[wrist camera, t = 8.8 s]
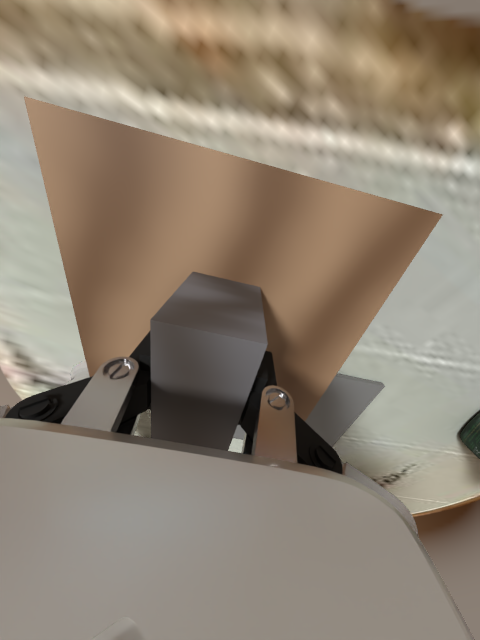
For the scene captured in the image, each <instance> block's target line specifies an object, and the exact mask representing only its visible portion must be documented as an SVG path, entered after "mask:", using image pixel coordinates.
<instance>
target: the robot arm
mask: <svg viewBox="0 0 480 640" xmlns="http://www.w3.org/2000/svg"><path fill="white" fill-rule="evenodd" d="M147 409H150V410H151V341H150V331H149V332H148V334H147V335H146V336H145V337H144V339H143V340H142V341H141V342H140V344H139V345H138V346H137V347H136V349H135V350H134V351H133V352H132V354H131V355H130V356H129V357H116V358H112V359H110V360H108V361H106V362H104V363H103V364H102V365H101V366H100V367H99V369H98V370H97V371H96V373H95V374H94V376H92V377H89V378H85V379H82V380H79V381H76V382H73V383H70V384H67V385H64V386H61V387H58V388H55V389H51V390H48V391H45V392H42V393H39V394H36V395H33V396H31V397H28V398H26V399H24V400H23V401H21V402H19V403H17V404H16V405H15V406H14V407H11V408H10V407H9V406H8V405H5V406H0V640H475V639H474V637H473V636H472V634H471V632H470V630H469V628H468V626H467V624H466V622H465V620H464V618H463V617H462V615H461V613H460V611H459V609H458V607H457V605H456V603H455V602H454V599H453V597H452V596H451V594H450V592H449V590H448V588H447V586H446V585H445V583H444V581H443V579H442V578H441V576H440V574H439V572H438V570H437V568H436V567H435V565H434V563H433V561H432V560H431V558H430V556H429V555H428V553H427V551H426V549H425V548H424V546H423V544H422V543H421V541H420V540H419V537H418V531H417V527H416V523H415V520H414V519H413V517H412V515H411V513H410V511H409V510H408V509H407V508H406V506H405V505H404V504H403V503H402V502H401V501H400V500H399V499H398V498H397V497H396V496H394V495H393V494H391V493H390V492H388V491H387V490H386V489H384V488H383V487H381V486H380V485H379V484H377V483H376V482H374V481H373V480H371V479H370V478H369V477H367V476H366V475H364V474H363V473H362V472H360V471H359V470H357V469H356V468H354V467H353V466H352V465H350V464H349V463H347V462H346V463H345V464H344V463H343V462H341V460H340V458H339V456H338V454H337V453H336V451H335V450H334V449H333V448H332V447H331V446H330V445H329V444H328V443H327V442H326V441H325V440H324V439H323V438H322V437H321V436H320V435H319V434H317V433H316V432H315V431H314V430H313V429H312V428H311V427H310V426H309V425H308V424H307V423H306V422H305V421H304V420H303V419H302V418H300V417H299V416H298V415H297V414H296V413H295V412H294V403H293V399H292V397H291V395H290V394H289V393H288V392H287V391H286V390H284V389H283V388H281V387H279V386H277V381H276V375H275V368H274V362H273V356H272V352H270V351H265V353H264V356H263V359H262V361H261V364H260V367H259V369H258V372H257V375H256V377H255V380H254V383H253V385H252V388H251V390H250V393H249V396H248V398H247V401H246V404H245V406H244V409H243V412H242V414H241V417H240V420H239V422H238V425H241V428H242V429H243V430H244V431H245V435H244V441H243V447H242V453H237V452H231V451H225V450H219V449H213V448H207V447H201V446H195V445H189V444H183V443H177V442H171V441H165V440H158V439H152V438H146V437H140V436H134V433H135V430H136V427H137V424H138V421H139V419H140V415H141V413H142V412H144V411H146V410H147Z"/></svg>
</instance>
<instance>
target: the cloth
mask: <svg viewBox="0 0 480 640" xmlns="http://www.w3.org/2000/svg"><path fill="white" fill-rule="evenodd" d="M24 99H25V103H26V108H27V112H28V116H29V120H30V125H31V129H32V133H33V137H34V142H35V146H36V150H37V154H38V159H39V163H40V167H41V172H42V176H43V180H44V184H45V189H46V193H47V197H48V201H49V206H50V210H51V214H52V218H53V223H54V227H55V231H56V236H57V240H58V244H59V248H60V253H61V257H62V261H63V265H64V270H65V274H66V278H67V282H68V287H69V291H70V295H71V300H72V304H73V308H74V312H75V317H76V321H77V325H78V329H79V334H80V338H81V342H82V346H83V351H84V355H85V359H86V364H87V368H88V372H89V376H90V377H92V376H94V374H95V373H96V371H97V370H98V369H99V367H100V366H101V365H102V364H103V363H104V362H106V361H108V360H110V359H112V358H116V357H129V356H130V355H131V354H132V352H133V351H134V350H135V349H136V347H137V346H138V345H139V344H140V342H141V341H142V340H143V339H144V337H145V336H146V335H147V334H148V332H149V331H150V341H151V438H152V439H158V440H165V441H171V442H177V443H183V444H189V445H195V446H201V447H207V448H213V449H219V450H225V451H228V449H229V446H230V444H231V441H232V438H233V436H234V433H235V430H236V428H237V425H238V422H239V420H240V417H241V414H242V412H243V409H244V406H245V404H246V401H247V398H248V396H249V393H250V390H251V388H252V385H253V383H254V380H255V377H256V375H257V372H258V369H259V367H260V364H261V361H262V359H263V356H264V353H265V351H270V352H272V356H273V362H274V368H275V375H276V381H277V386H279V387H281V388H283V389H284V390H286V391H287V392H288V393H289V394H290V395H291V397H292V399H293V403H294V412H295V413H296V414H297V415H298V416H299V417H300V418H302V419H303V420H304V421H306V419H307V418H308V416H309V415H310V413H311V412H312V410H313V409H314V407H315V406H316V404H317V403H318V401H319V400H320V398H321V397H322V395H323V394H324V392H325V391H326V389H327V388H328V386H329V385H330V383H331V382H332V380H333V379H334V377H335V376H336V374H337V373H338V371H339V370H340V368H341V367H342V365H343V364H344V362H345V361H346V359H347V358H348V356H349V355H350V353H351V352H352V350H353V349H354V347H355V346H356V344H357V343H358V341H359V340H360V338H361V337H362V335H363V334H364V332H365V331H366V329H367V328H368V326H369V325H370V323H371V322H372V320H373V319H374V317H375V316H376V314H377V313H378V311H379V310H380V308H381V307H382V305H383V304H384V302H385V301H386V299H387V298H388V296H389V295H390V293H391V292H392V290H393V289H394V287H395V286H396V284H397V283H398V281H399V280H400V278H401V277H402V275H403V274H404V272H405V271H406V269H407V268H408V266H409V265H410V263H411V262H412V260H413V259H414V257H415V256H416V254H417V253H418V251H419V250H420V248H421V247H422V245H423V244H424V242H425V241H426V239H427V238H428V236H429V234H430V233H431V231H432V230H433V228H434V227H435V225H436V224H437V222H438V221H439V219H440V218H441V216H442V214H439V213H435V212H432V211H428V210H425V209H421V208H417V207H414V206H410V205H407V204H403V203H400V202H396V201H393V200H389V199H386V198H382V197H378V196H375V195H371V194H368V193H364V192H361V191H357V190H354V189H350V188H347V187H343V186H340V185H336V184H332V183H329V182H325V181H322V180H318V179H315V178H311V177H308V176H304V175H301V174H297V173H293V172H290V171H286V170H283V169H279V168H276V167H272V166H269V165H265V164H262V163H258V162H255V161H251V160H247V159H244V158H240V157H237V156H233V155H230V154H226V153H223V152H219V151H216V150H212V149H208V148H205V147H201V146H198V145H194V144H191V143H187V142H184V141H180V140H177V139H173V138H170V137H166V136H162V135H159V134H155V133H152V132H148V131H145V130H141V129H138V128H134V127H131V126H127V125H123V124H120V123H116V122H113V121H109V120H106V119H102V118H99V117H95V116H92V115H88V114H85V113H81V112H77V111H74V110H70V109H67V108H63V107H60V106H56V105H53V104H49V103H46V102H42V101H38V100H35V99H31V98H28V97H24Z"/></svg>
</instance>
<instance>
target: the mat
mask: <svg viewBox="0 0 480 640" xmlns="http://www.w3.org/2000/svg"><path fill="white" fill-rule="evenodd" d="M384 387H385V386H384V384H383V383H381V382H376V381H371V380H366V379H361V378H356V377H351V376H346V375H342V374H336V376H335V377H334V379H333V380H332V382H331V383H330V385H329V386H328V388H327V389H326V391H325V392H324V394H323V395H322V397H321V398H320V400H319V401H318V403H317V404H316V406H315V407H314V409H313V410H312V412H311V413H310V415H309V416H308V418H307V419H306V421H305V422H306V423H307V424H308V425H309V426H310V427H311V428H312V429H313V430H314V431H315V432H316V433H317V434H319V435H320V436H321V437H322V438H323V439H324V440H325V441H326V442H327V443H328V444H329V445H330V446H331V447H332V446H333V445H334V444H335V443H336V442H337V441H338V439H339V438H340V437H341V436H342V435H343V434H344V433H345V431H346V430H347V429H348V428H349V427H350V426H351V425H352V423H353V422H354V421H355V420H356V419H357V418H358V417H359V415H360V414H361V413H362V412H363V411H364V410H365V409H366V407H367V406H368V405H369V404H370V403H371V402H372V401H373V399H374V398H375V397H376V396H377V395H378V394H379V393H380V391H381V390H382V389H383V388H384ZM244 435H245V431H244V430H243V429H242V428H241V425H237V428H236V430H235V433H234V436H233V438H236V439H242V440H244Z"/></svg>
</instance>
